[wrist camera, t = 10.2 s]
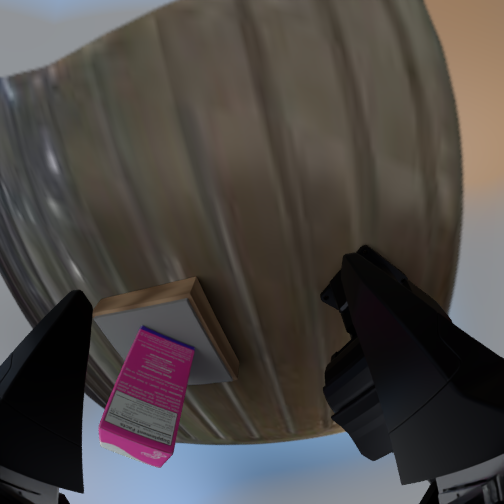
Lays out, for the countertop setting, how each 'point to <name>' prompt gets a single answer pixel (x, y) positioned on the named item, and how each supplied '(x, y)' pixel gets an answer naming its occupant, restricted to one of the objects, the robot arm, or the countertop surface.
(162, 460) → the supplement box
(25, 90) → the countertop surface
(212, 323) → the walnut base
